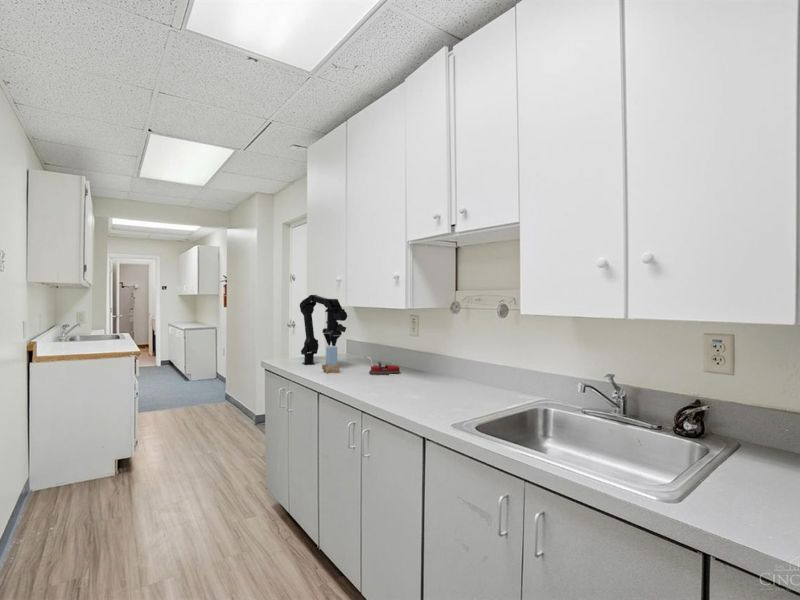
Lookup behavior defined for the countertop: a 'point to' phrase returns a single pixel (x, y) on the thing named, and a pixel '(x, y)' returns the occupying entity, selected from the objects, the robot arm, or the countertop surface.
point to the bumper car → (383, 369)
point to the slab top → (330, 367)
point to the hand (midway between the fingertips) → (331, 346)
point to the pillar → (331, 355)
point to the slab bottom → (331, 371)
